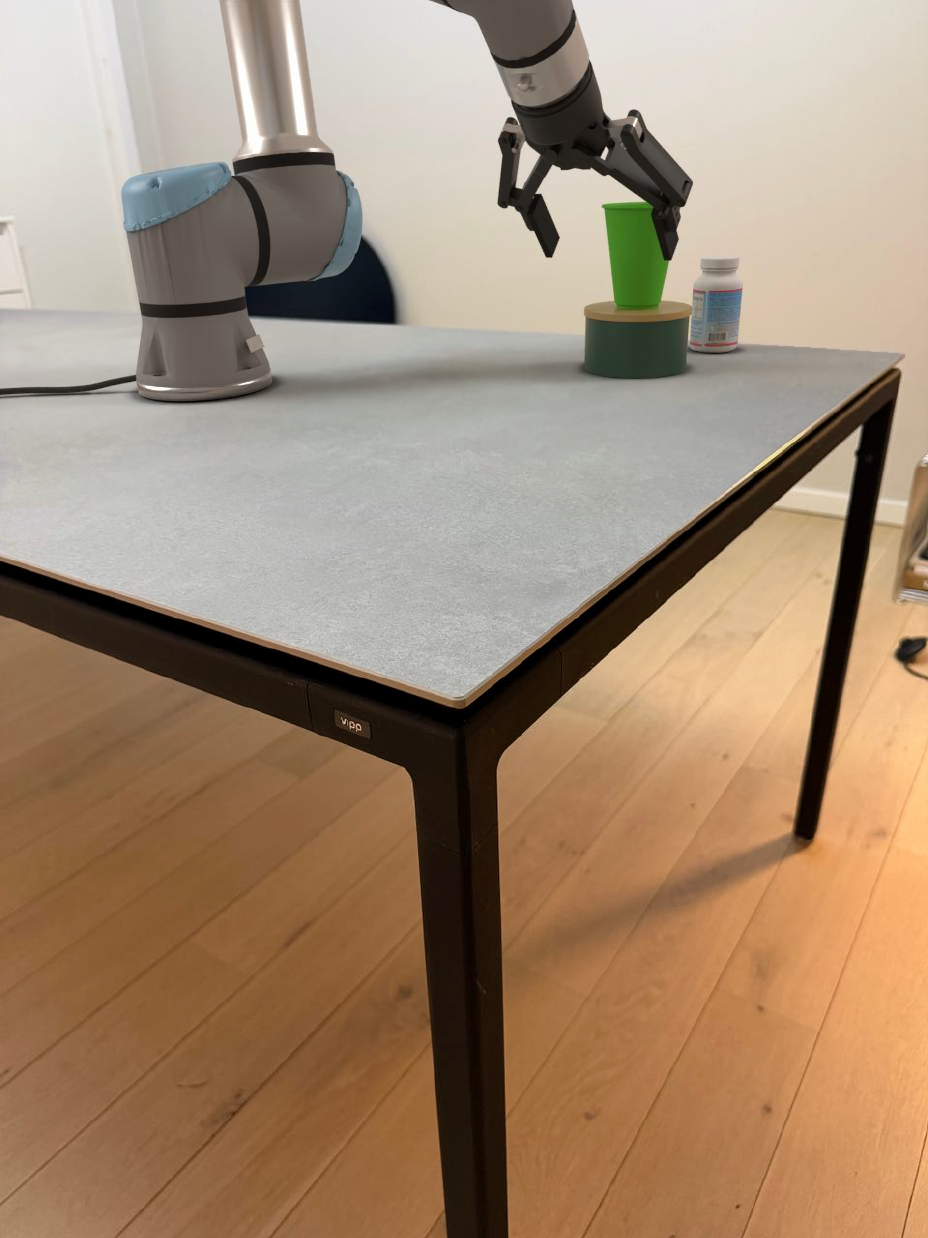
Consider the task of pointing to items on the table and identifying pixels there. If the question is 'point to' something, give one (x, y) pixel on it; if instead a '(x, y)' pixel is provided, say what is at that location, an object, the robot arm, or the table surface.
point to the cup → (634, 256)
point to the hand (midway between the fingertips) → (610, 248)
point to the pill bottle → (716, 305)
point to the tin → (636, 340)
